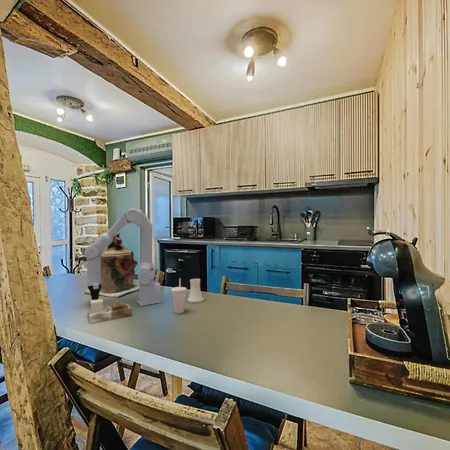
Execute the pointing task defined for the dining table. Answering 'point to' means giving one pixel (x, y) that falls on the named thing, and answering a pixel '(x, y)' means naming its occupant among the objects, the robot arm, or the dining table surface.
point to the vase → (195, 292)
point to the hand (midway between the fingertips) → (95, 301)
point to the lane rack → (109, 314)
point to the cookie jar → (117, 270)
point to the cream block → (96, 305)
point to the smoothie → (179, 297)
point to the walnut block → (118, 306)
